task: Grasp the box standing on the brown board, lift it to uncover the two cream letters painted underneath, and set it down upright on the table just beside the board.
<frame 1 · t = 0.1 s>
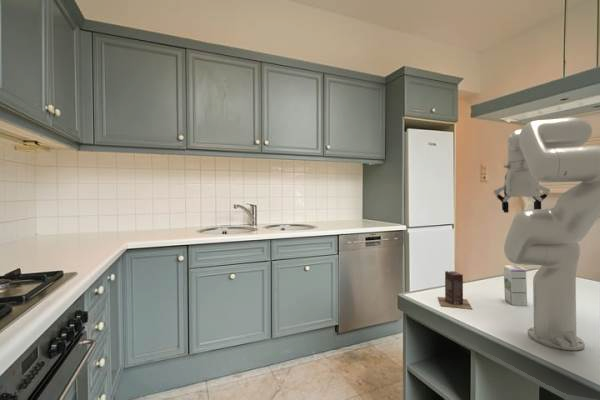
hand: (521, 212, 108), 37 cm above the counter, tool pointing down, fingers open, 9 cm apart
brown board: (454, 302, 117), on the counter
syrup box: (515, 303, 116), on the counter
box: (454, 302, 117), resting on brown board
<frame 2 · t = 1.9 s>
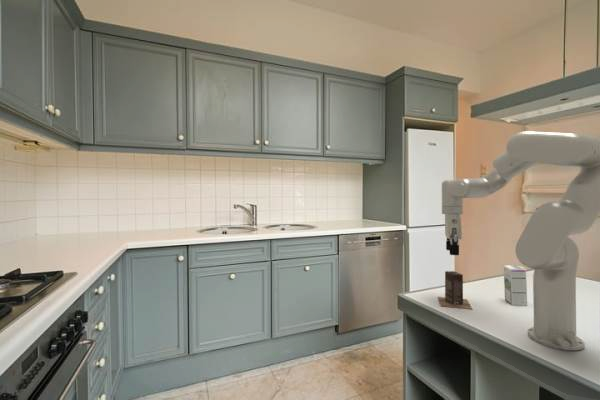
hand: (452, 252, 117), 20 cm above the counter, tool pointing down, fingers open, 9 cm apart
nothing on the counter moved.
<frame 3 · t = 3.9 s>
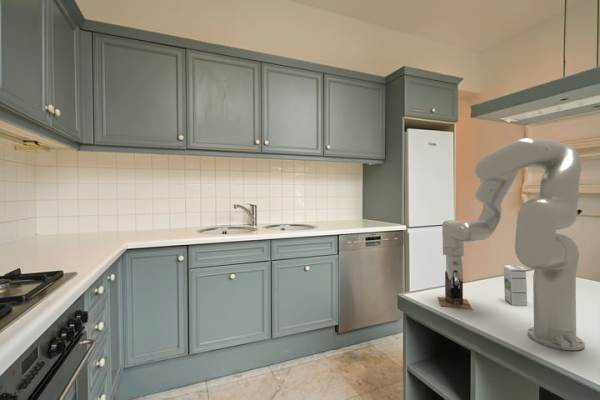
hand: (453, 294, 117), 3 cm above the counter, tool pointing down, fingers closed on box, 6 cm apart
box: (454, 302, 117), resting on brown board, touching gripper
everything else where it was.
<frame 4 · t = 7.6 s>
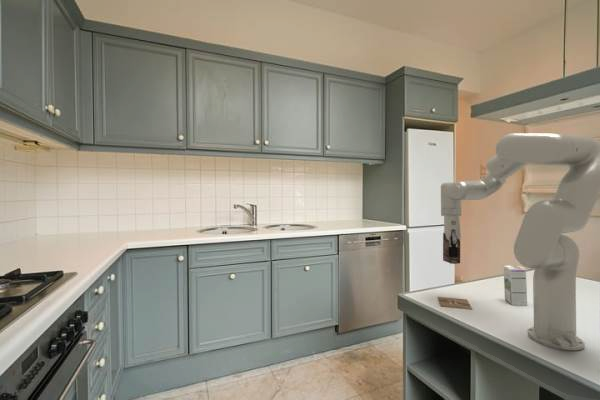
hand: (451, 254, 121), 19 cm above the counter, tool pointing down, fingers closed on box, 6 cm apart
box: (451, 262, 121), point 16 cm above the counter, touching gripper
everything else where it was.
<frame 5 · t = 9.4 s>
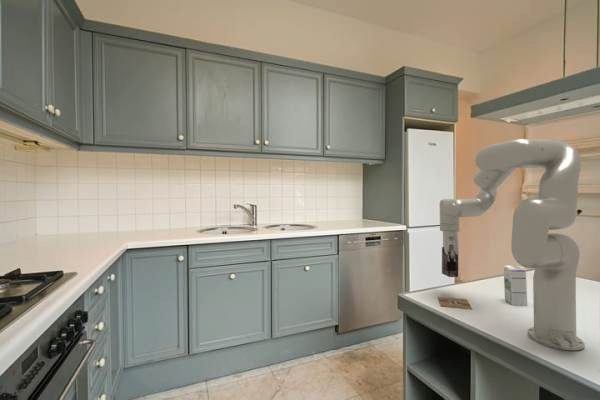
hand: (450, 268, 126), 12 cm above the counter, tool pointing down, fingers closed on box, 6 cm apart
box: (450, 275, 126), point 9 cm above the counter, touching gripper
everything else where it was.
when the fingers open (5 cm above the counter, at t = 11.2 s): box drops 1 cm, on the counter.
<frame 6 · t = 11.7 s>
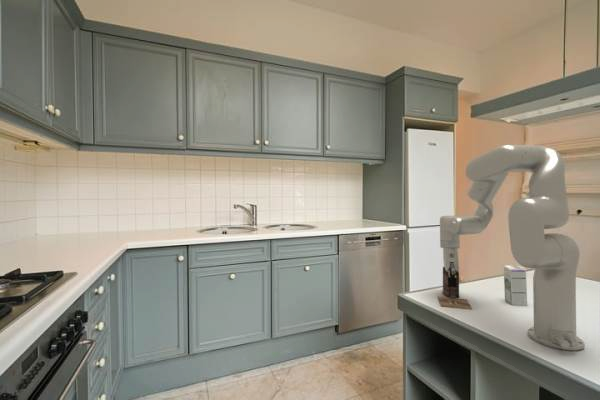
hand: (450, 283, 126), 5 cm above the counter, tool pointing down, fingers open, 9 cm apart
box: (450, 296, 126), on the counter
everything else where it was.
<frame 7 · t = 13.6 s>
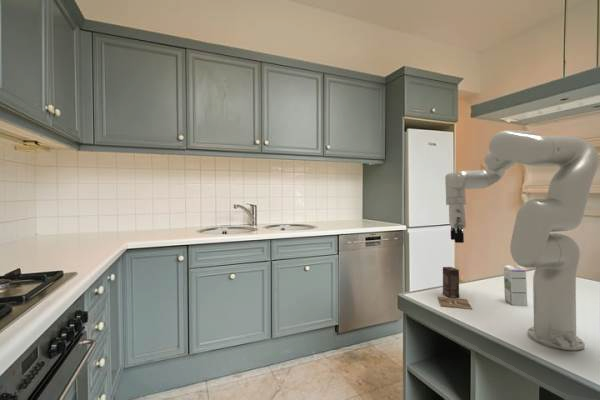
hand: (457, 241, 125), 24 cm above the counter, tool pointing down, fingers open, 9 cm apart
nothing on the counter moved.
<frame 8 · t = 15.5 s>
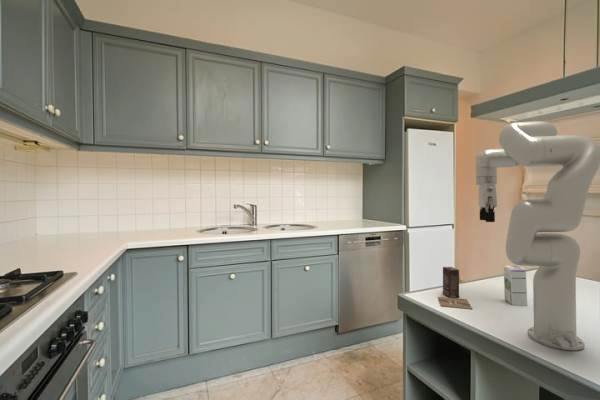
hand: (486, 221, 124), 32 cm above the counter, tool pointing down, fingers open, 9 cm apart
nothing on the counter moved.
at the end: box 0.4 cm from the target spot, on the counter; box tilted 0°; the gripper is holding nothing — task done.
